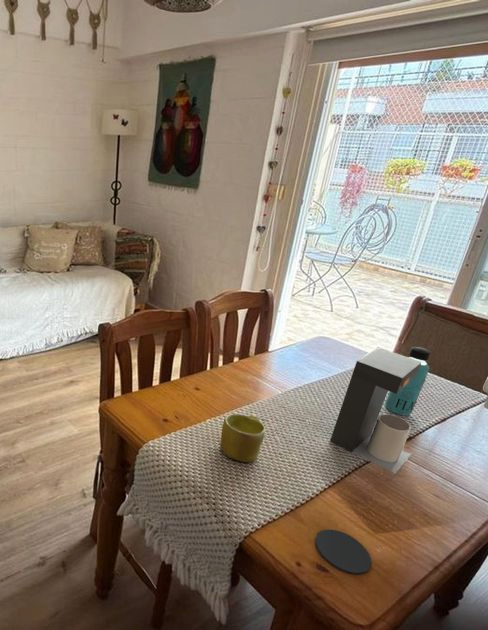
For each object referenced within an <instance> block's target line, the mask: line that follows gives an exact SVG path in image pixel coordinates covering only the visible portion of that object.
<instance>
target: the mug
mask: <svg viewBox="0 0 488 630" xmlns="http://www.w3.org/2000/svg"><path fill="white" fill-rule="evenodd" d="M221 427H222V428H221V433H220V435H221V436H220V448H221V451H222V453H224V455H226V456H227V457H228V458H230V459H232V460H235V461H238V462H242V463H243V462H244V463H253V462H254V461H256V460H257V459H258V457H259V455H260V451H261V447H262V444H263V441H264V439H265V436H266V427H265V425H264V424H263V422H261V421H260V417H259V416H258V414H257V415H256V414H254V413H252V414H250V415H246V414H245V415H244V414H240V413H232V414H228V415H225V417H224V419H223V423H222V426H221Z"/></svg>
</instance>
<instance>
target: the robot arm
mask: <svg viewBox="0 0 488 630" xmlns="http://www.w3.org/2000/svg"><path fill="white" fill-rule="evenodd" d="M482 391H483V392H484V393H486V394H487V396H486V400H485V402H484V404H483V407H484V408H485V409H487V410H488V376H487V378H486V379H485V382H484V384H483V386H482Z"/></svg>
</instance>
